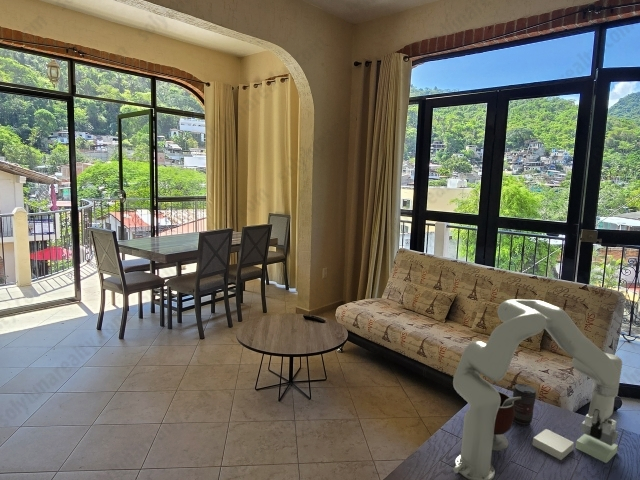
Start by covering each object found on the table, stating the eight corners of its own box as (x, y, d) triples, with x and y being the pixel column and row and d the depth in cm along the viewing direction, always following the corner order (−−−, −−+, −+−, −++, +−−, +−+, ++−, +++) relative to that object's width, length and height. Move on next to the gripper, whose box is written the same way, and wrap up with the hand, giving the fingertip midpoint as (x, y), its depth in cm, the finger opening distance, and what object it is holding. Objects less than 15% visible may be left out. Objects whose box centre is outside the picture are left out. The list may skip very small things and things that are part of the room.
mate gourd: (468, 444, 152) (473, 394, 149) (473, 424, 164) (478, 378, 161) (514, 458, 145) (520, 406, 142) (516, 437, 157) (522, 388, 154)
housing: (580, 431, 152) (582, 413, 151) (586, 426, 155) (588, 408, 154) (611, 446, 144) (614, 427, 143) (617, 440, 147) (619, 421, 146)
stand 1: (560, 460, 145) (562, 452, 144) (532, 445, 152) (533, 437, 152) (573, 449, 150) (574, 442, 150) (545, 435, 158) (546, 428, 158)
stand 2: (606, 463, 144) (607, 455, 143) (575, 447, 152) (576, 440, 151) (616, 452, 150) (617, 445, 149) (586, 438, 158) (587, 431, 157)
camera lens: (535, 428, 163) (540, 393, 161) (515, 427, 163) (519, 392, 161) (526, 417, 171) (530, 383, 169) (506, 416, 171) (510, 382, 169)
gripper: (602, 377, 155) (596, 421, 158) (583, 390, 145) (577, 436, 148) (626, 385, 149) (619, 431, 152) (608, 399, 139) (601, 448, 142)
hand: (598, 433), depth 150 cm, fingers closed on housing, 5 cm apart
